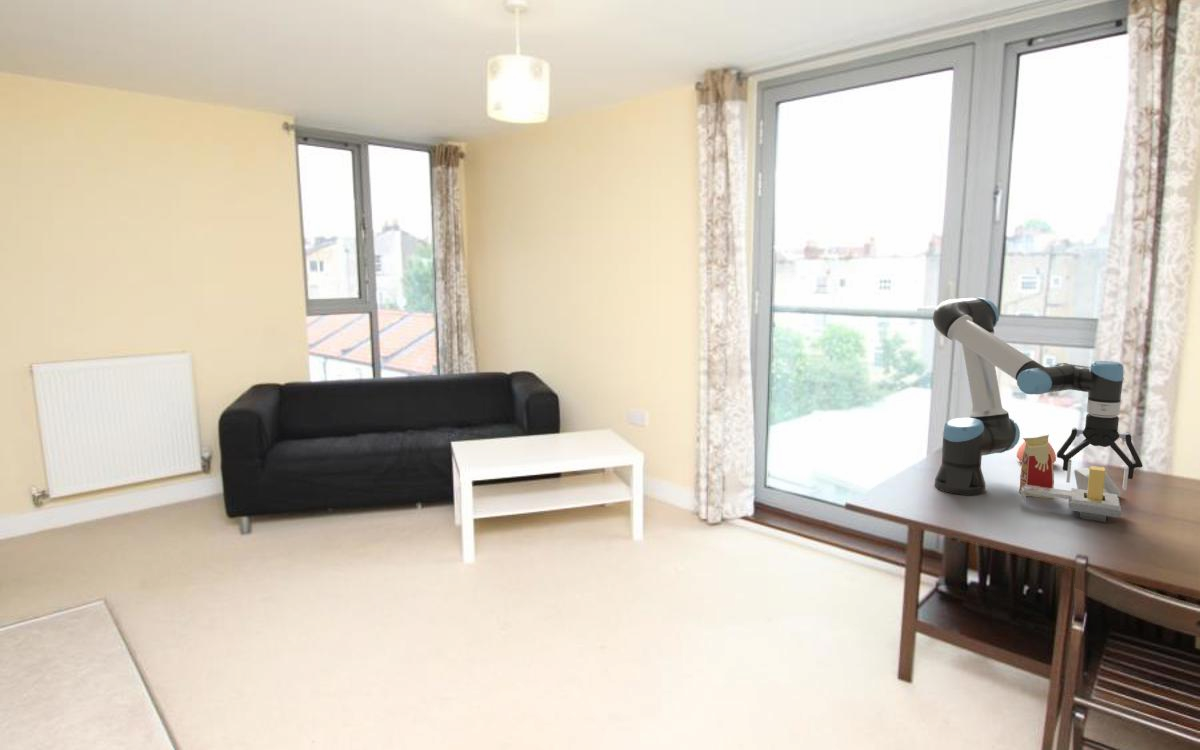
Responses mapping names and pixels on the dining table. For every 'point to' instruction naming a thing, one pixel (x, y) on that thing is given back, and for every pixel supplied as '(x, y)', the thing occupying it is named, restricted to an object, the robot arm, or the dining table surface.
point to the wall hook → (1083, 478)
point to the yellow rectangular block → (1096, 483)
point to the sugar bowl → (1022, 448)
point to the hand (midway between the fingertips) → (1095, 485)
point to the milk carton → (1037, 464)
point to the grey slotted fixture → (1080, 501)
